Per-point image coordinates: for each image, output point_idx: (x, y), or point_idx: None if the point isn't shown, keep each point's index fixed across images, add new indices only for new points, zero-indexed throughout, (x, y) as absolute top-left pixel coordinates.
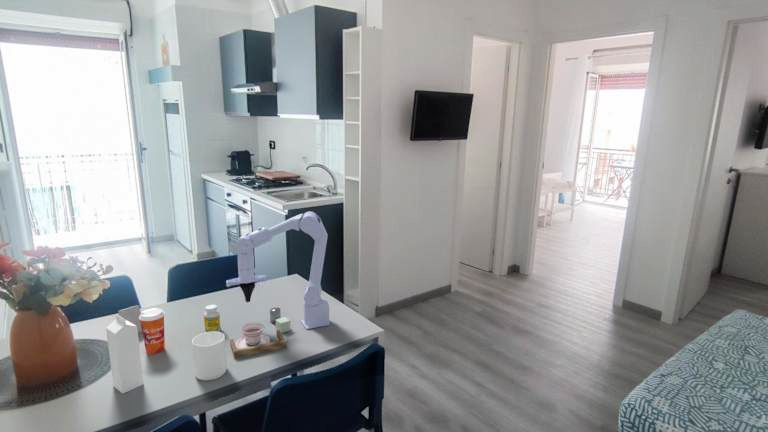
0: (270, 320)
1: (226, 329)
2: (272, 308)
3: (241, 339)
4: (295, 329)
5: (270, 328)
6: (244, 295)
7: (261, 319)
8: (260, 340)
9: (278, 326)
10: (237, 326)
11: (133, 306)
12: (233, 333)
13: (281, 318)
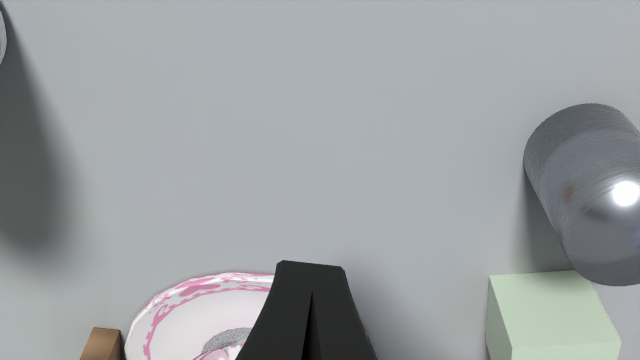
0: (530, 162)
1: (76, 66)
2: (635, 194)
3: (183, 299)
4: None
5: (459, 247)
6: (255, 329)
7: (486, 33)
8: None
9: (497, 348)
10: (196, 59)
11: None
12: (137, 176)
13: (572, 352)
